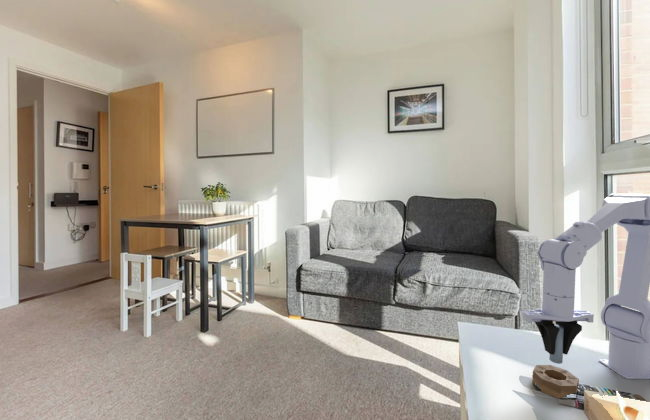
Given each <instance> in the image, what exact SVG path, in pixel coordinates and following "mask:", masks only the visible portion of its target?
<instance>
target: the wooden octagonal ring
mask: <svg viewBox="0 0 650 420" xmlns="http://www.w3.org/2000/svg"><path fill="white" fill-rule="evenodd" d="M579 381H580V380H579V378H578V376H577V377H576V375H574V374H573V373H571V372H570V371H569V370H567V369H564V368H561V367H558V366H554V365H552V364H536V365H535V366H534V368H533V370H532V384H533V385H534V383H536V384H537V385H538V386H539V387H540V389H541V391H542V392H541V391H540V392H541V393H543V394H546V395H549V396H550V397H554V398H557V399H559V398H563V397H565V396H567V395H570V394H573V393H576V392H577V389H578V390H579V387H578V386H579V385H580V384H579Z"/></svg>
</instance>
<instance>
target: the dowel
mask: <svg viewBox="0 0 650 420" xmlns="http://www.w3.org/2000/svg"><path fill="white" fill-rule="evenodd" d="M554 326H556V327H558V328H559V329H560V330H559V332H558V335H557V338H556V345H555V353H554V354H550V353H549V361H550V362H552V363H554V364H559V365H560V364H563V356H564V354H563V337H564V327H563V326H560V325H556V323H554Z"/></svg>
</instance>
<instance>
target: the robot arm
mask: <svg viewBox="0 0 650 420" xmlns="http://www.w3.org/2000/svg"><path fill="white" fill-rule="evenodd" d="M616 224H617V225H618V226H620V227H622V228H624V229H625V230H626V231H627V234H628V235H627V241H626V246H625V252H624V258H623V266H622V271H621V277H620V284H619V291H618V293H617V294H615V295H611V296H609V297H607V298H606V301H605V303H604V306H603V307H602V310H601V312H600V321H601V322H602V324H603V326H605V327H606V329H605V330H606V331H608V332H609V336H608V337H609V338H608V340H609V341H608V342H609V343H608V357H607V359H606V358H603V359H602V358H599V359H598V362H599V363H600V364H603V366H605V367H607V368H608V369H610V370H612V371H614V373H616V374H618V375H619V376H621V377H623V378H624V379H627V380H650V299H648V298H649V292H650V291H649V290H650V193H649V194H647V193H644V194H643V193H613V192H612V193H610V194H608V196H606V197H605V198H603V200H602V206H601V208H600V209H599V210H598V211H597V212H595V214H594V215H592V217H590V218H589V219H588V220H587V221H575V222H574V223H572V226H570V227H569V228H568V229H566V230H565V231H564V232H562V233H561V234H560V235H557V237H555V238H554V239H552V238H548V239H546V240H545V241H542V242H541V244H540V246H539V248H538V251H537V252H536V254H537V259H538V260H539V262H540V269H541V271H543V274H542V275H543V276H542V277H543V278H542V281H543V282H542V304H541V305H542V306H541V308H538V309H532V310H523V311H522V314H521V315H522V318H521V319H522V320H523V321H524V322H526V323H527V324H529V323H530V324H532V323H533V322H534V323H535V325H536V327H537V329H538V331H539V333H540V337H541V339H542V343H543V346H544V351H546V352H547V353H548V354H549V355H550V354H554V353H555V345H556V338H557V335H558V332H559V330H560V329H559V328H558V327H556V326H554V324H556V325H560V326H563V327H564V337H563V355H568V354H569V351H570V348H571V347H572V343H573V342H574V340H575V339H576V337H577V335H579V334H580V332H582V330H583V325H581V324H580V323H578V322H586V323H594V313H593V312H590V311H587V310H577V309H575V298H576V297H575V293H576V290H575V289H576V270H577V269H578V268H579V267H581V265H582V264H583V262H584V258H585V257H586V256H587V254H588V253H587V252H588V251H589V250H591V249H592V248H593V247H594V246H596V245H597V244H598V243H599V242H600V241H602V238H603V235H602V233H603V232H605V231H606V230H608V229H610V228H611V227H612V226H614V225H616ZM554 322H555V323H554Z"/></svg>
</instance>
